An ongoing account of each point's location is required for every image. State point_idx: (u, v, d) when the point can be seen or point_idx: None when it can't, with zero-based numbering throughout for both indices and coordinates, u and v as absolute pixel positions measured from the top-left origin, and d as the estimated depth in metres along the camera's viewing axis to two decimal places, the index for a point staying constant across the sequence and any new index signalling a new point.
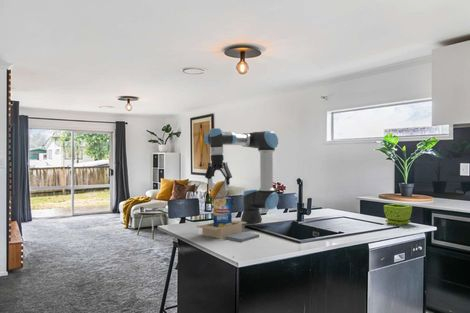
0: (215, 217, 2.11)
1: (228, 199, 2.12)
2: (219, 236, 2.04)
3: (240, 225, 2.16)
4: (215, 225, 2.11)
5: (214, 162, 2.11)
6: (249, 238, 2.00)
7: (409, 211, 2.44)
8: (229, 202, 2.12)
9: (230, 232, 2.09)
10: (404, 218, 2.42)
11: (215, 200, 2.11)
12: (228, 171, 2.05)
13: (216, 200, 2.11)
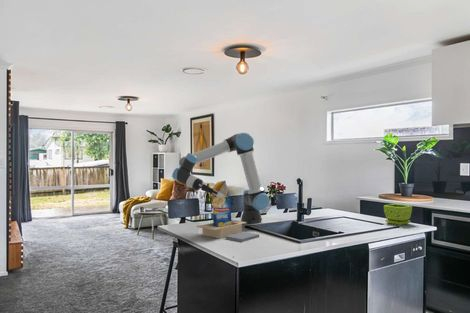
0: (215, 216, 2.12)
1: (227, 197, 2.14)
2: (219, 236, 2.04)
3: (240, 225, 2.16)
4: (215, 224, 2.12)
5: None
6: (249, 238, 2.00)
7: (409, 211, 2.44)
8: (228, 200, 2.14)
9: (230, 232, 2.09)
10: (404, 218, 2.42)
11: (214, 199, 2.13)
12: (205, 187, 2.14)
13: (215, 199, 2.14)
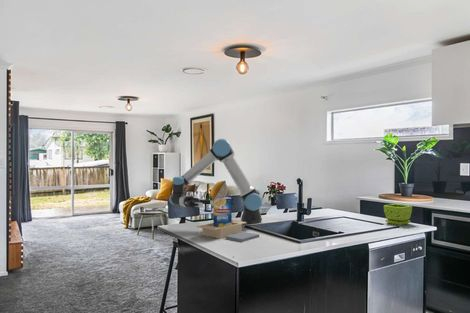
0: (215, 217, 2.11)
1: (228, 199, 2.12)
2: (219, 236, 2.04)
3: (240, 225, 2.16)
4: (215, 225, 2.11)
5: None
6: (249, 238, 2.00)
7: (409, 211, 2.44)
8: (229, 202, 2.12)
9: (230, 232, 2.09)
10: (404, 218, 2.42)
11: (215, 200, 2.11)
12: (188, 203, 2.22)
13: (216, 200, 2.12)
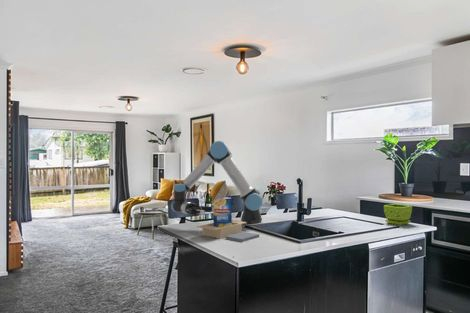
0: (215, 217, 2.11)
1: (228, 199, 2.12)
2: (219, 236, 2.04)
3: (240, 225, 2.16)
4: (215, 225, 2.11)
5: None
6: (249, 238, 2.00)
7: (409, 211, 2.44)
8: (229, 202, 2.12)
9: (230, 232, 2.09)
10: (404, 218, 2.42)
11: (215, 200, 2.11)
12: (189, 211, 2.21)
13: (216, 200, 2.11)
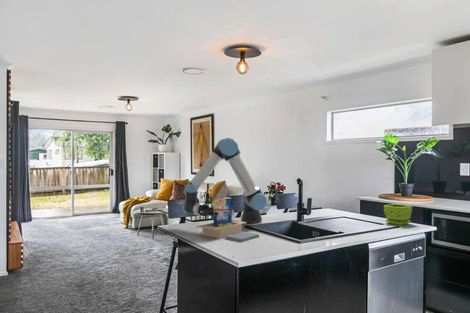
0: (215, 217, 2.11)
1: (228, 199, 2.12)
2: (219, 236, 2.04)
3: (240, 225, 2.16)
4: (215, 225, 2.11)
5: None
6: (249, 238, 2.00)
7: (409, 211, 2.44)
8: (229, 202, 2.12)
9: (230, 232, 2.09)
10: (404, 218, 2.42)
11: (215, 200, 2.11)
12: (206, 212, 2.14)
13: (216, 200, 2.11)
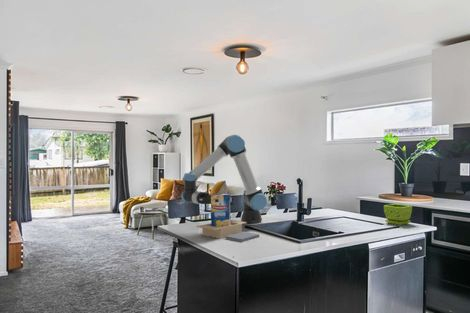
0: (213, 213, 2.11)
1: (225, 195, 2.11)
2: (219, 236, 2.04)
3: (240, 225, 2.16)
4: (213, 221, 2.11)
5: None
6: (249, 238, 2.00)
7: (409, 211, 2.44)
8: (226, 198, 2.10)
9: (230, 232, 2.09)
10: (404, 218, 2.42)
11: (212, 196, 2.11)
12: (206, 200, 2.14)
13: (213, 196, 2.11)
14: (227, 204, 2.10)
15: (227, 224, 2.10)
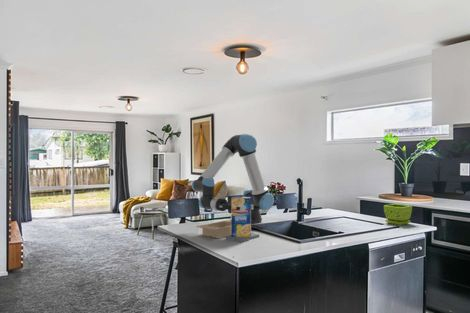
0: (233, 217, 2.01)
1: (247, 199, 2.00)
2: (219, 236, 2.04)
3: None
4: (233, 226, 2.01)
5: None
6: (249, 238, 2.00)
7: (409, 211, 2.44)
8: (248, 202, 2.00)
9: (230, 232, 2.09)
10: (404, 218, 2.42)
11: (233, 199, 2.01)
12: (226, 207, 2.03)
13: (234, 199, 2.01)
14: (248, 208, 2.00)
15: (248, 229, 2.00)
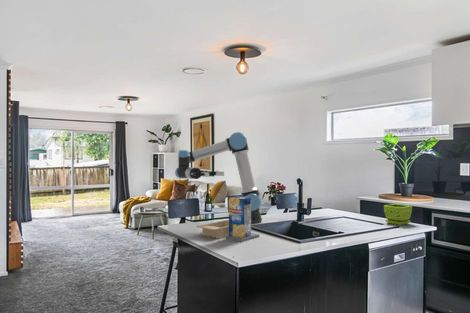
0: (230, 217, 2.04)
1: (241, 199, 1.99)
2: (219, 236, 2.04)
3: None
4: (230, 225, 2.04)
5: None
6: (249, 238, 2.00)
7: (409, 211, 2.44)
8: (242, 202, 1.99)
9: None
10: (404, 218, 2.42)
11: (230, 199, 2.04)
12: (194, 174, 2.25)
13: (231, 199, 2.03)
14: (242, 208, 1.98)
15: (242, 229, 1.99)
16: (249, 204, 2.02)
